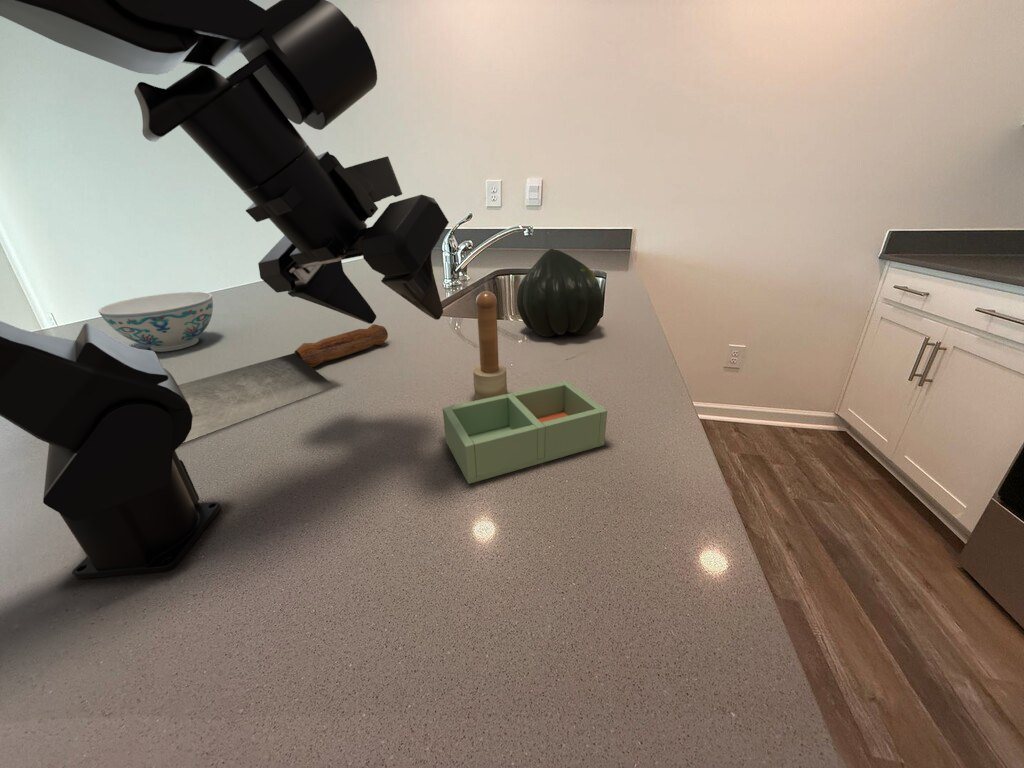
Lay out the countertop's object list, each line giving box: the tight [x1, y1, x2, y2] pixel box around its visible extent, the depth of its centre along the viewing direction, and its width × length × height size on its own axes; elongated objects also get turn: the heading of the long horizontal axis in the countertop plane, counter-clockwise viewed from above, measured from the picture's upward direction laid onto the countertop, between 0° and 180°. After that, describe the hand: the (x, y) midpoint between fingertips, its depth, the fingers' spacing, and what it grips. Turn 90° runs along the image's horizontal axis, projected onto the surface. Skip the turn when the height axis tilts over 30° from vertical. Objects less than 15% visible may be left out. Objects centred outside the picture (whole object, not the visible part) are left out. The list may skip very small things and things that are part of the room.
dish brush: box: [472, 290, 508, 401], centre depth 48 cm, size 4×4×13 cm
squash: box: [516, 248, 604, 338], centre depth 72 cm, size 14×15×15 cm
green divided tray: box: [442, 380, 608, 485], centre depth 41 cm, size 14×8×4 cm, turn 114°
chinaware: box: [98, 291, 214, 353], centre depth 70 cm, size 15×15×8 cm
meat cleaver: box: [177, 323, 389, 444], centre depth 56 cm, size 34×11×4 cm, turn 142°
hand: (404, 318), depth 40 cm, fingers open, 9 cm apart
